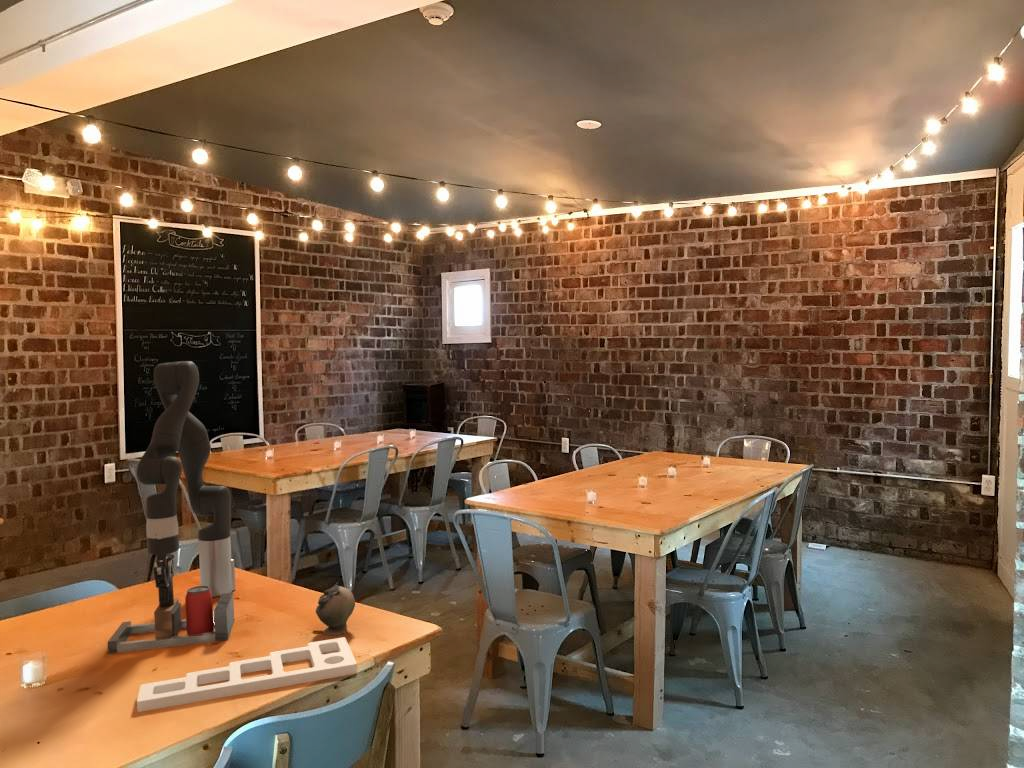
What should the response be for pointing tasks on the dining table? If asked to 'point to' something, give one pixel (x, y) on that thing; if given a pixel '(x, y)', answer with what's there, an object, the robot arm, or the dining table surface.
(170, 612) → the sliding jaw
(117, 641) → the frame
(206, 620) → the beer can
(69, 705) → the dining table surface
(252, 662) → the holder
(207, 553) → the robot arm
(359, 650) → the dining table surface
